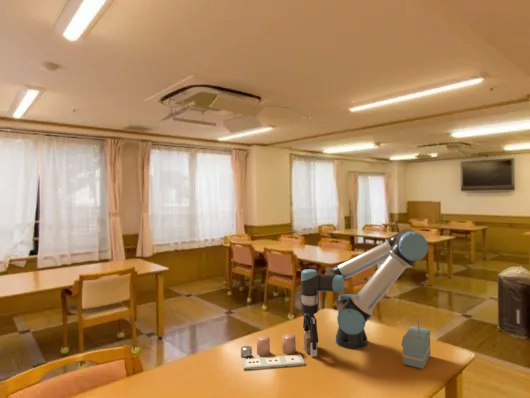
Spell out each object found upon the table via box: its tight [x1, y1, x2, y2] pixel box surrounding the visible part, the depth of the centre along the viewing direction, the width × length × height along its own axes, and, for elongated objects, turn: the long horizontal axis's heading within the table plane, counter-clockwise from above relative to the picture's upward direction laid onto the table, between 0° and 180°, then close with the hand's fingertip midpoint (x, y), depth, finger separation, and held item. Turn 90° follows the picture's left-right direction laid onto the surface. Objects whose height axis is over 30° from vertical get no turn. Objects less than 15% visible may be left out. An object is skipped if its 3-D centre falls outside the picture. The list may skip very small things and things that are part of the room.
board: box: [242, 354, 306, 370], centre depth 149 cm, size 26×8×1 cm, turn 97°
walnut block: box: [303, 334, 318, 355], centre depth 161 cm, size 5×5×7 cm
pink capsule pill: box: [256, 335, 271, 357], centre depth 159 cm, size 6×6×7 cm
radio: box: [401, 320, 431, 369], centre depth 149 cm, size 16×9×20 cm, turn 145°
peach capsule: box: [282, 333, 297, 355], centre depth 160 cm, size 6×6×7 cm
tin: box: [240, 345, 253, 359], centre depth 156 cm, size 5×5×4 cm
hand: (310, 350), depth 161 cm, fingers open, 11 cm apart
